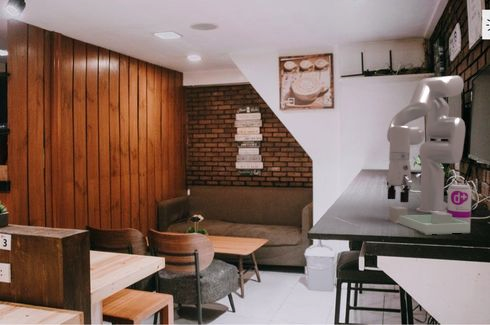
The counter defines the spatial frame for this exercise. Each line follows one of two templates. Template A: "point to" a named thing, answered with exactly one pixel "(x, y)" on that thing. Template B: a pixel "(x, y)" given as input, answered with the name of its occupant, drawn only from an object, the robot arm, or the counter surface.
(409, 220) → the tub
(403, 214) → the stone
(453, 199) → the supplement can
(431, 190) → the robot arm
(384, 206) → the counter surface
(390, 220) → the birch board
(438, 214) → the stone
